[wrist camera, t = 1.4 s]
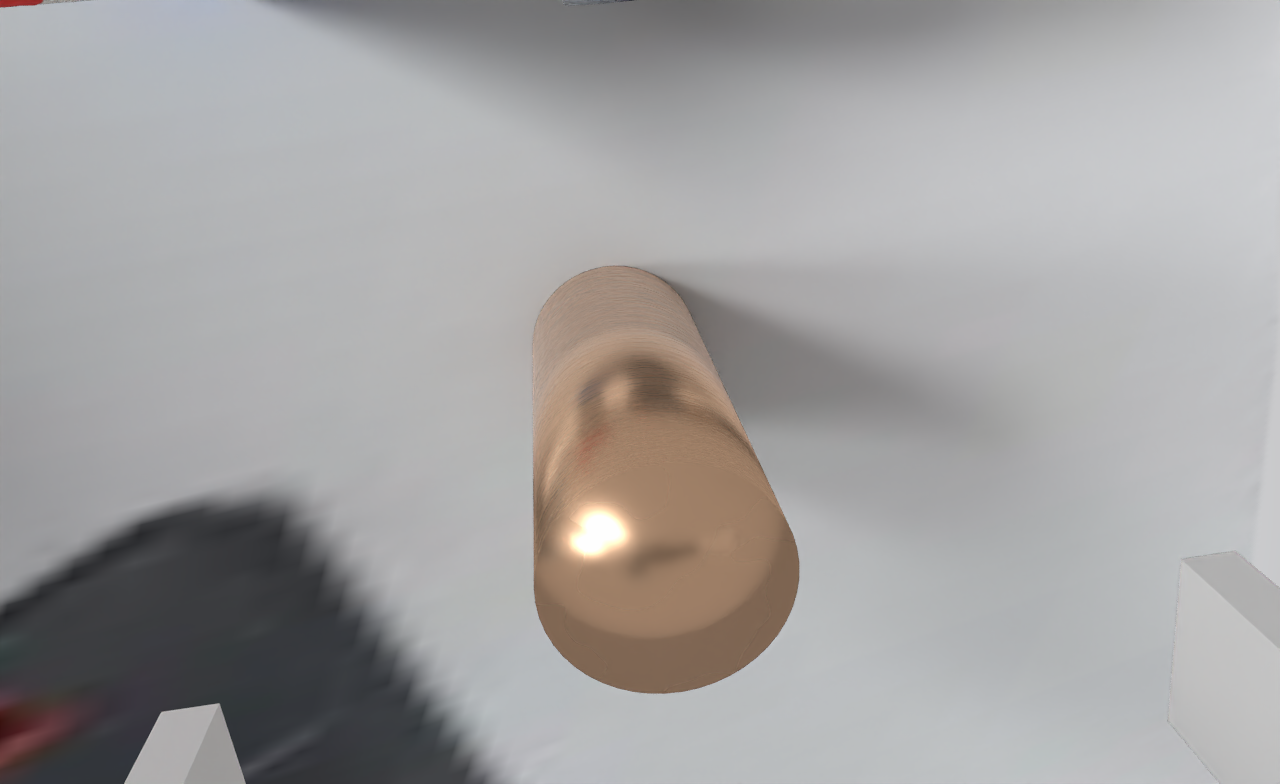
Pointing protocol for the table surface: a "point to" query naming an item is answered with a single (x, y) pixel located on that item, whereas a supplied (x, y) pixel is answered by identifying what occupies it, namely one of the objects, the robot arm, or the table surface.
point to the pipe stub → (648, 494)
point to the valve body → (589, 2)
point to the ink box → (30, 2)
